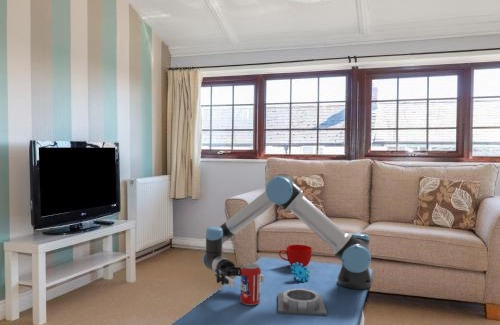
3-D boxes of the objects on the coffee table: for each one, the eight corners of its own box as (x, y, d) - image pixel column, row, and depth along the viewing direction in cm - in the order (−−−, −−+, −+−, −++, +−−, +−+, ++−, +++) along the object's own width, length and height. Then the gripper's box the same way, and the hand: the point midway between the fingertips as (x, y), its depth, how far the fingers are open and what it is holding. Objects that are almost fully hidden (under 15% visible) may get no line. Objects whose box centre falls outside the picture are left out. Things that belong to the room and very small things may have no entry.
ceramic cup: (276, 263, 220) (277, 244, 220) (308, 263, 222) (308, 244, 221) (281, 271, 207) (281, 251, 207) (314, 270, 209) (315, 250, 209)
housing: (321, 297, 173) (321, 288, 173) (326, 315, 155) (327, 305, 155) (277, 295, 174) (278, 286, 174) (278, 313, 156) (278, 302, 156)
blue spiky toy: (296, 280, 188) (289, 261, 194) (289, 287, 192) (282, 267, 198) (315, 280, 194) (308, 261, 200) (308, 286, 197) (301, 267, 204)
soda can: (261, 306, 163) (262, 268, 162) (241, 307, 161) (242, 268, 161) (258, 298, 170) (259, 262, 170) (239, 299, 169) (239, 262, 168)
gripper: (247, 271, 191) (274, 285, 173) (197, 280, 178) (220, 296, 160) (248, 255, 190) (274, 267, 172) (197, 262, 177) (220, 277, 159)
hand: (248, 281), depth 166 cm, fingers open, 13 cm apart
